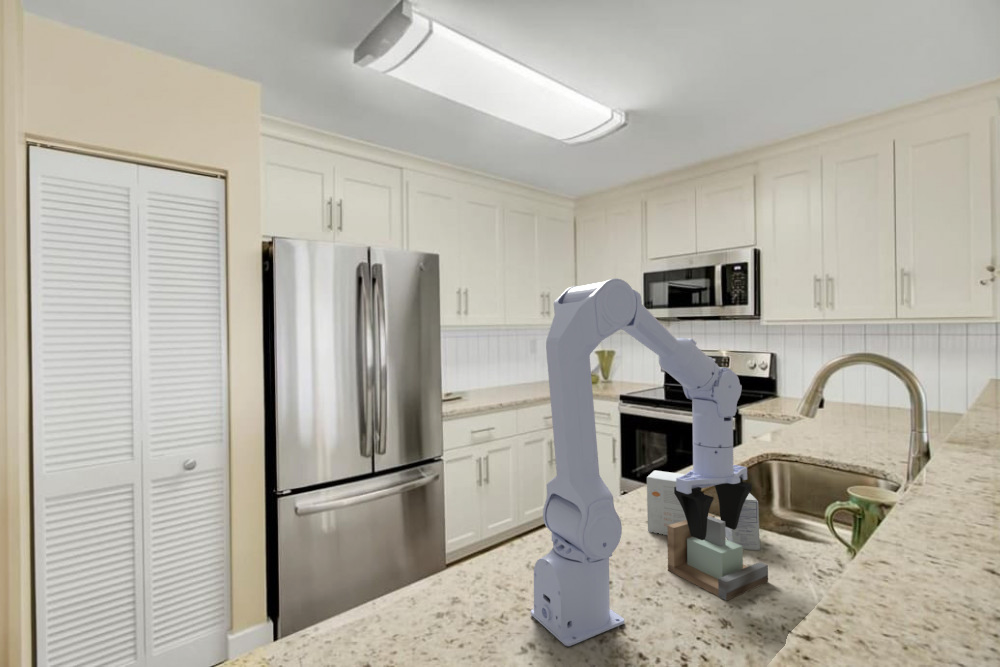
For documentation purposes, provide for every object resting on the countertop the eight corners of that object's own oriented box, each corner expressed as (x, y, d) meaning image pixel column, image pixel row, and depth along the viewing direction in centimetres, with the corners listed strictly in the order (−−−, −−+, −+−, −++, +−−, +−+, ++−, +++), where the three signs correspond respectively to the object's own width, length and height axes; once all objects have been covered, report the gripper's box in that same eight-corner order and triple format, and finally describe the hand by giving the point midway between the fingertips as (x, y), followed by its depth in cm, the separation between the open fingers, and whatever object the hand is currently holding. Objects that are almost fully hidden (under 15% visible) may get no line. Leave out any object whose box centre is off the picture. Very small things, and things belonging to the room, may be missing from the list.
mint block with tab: (722, 581, 68) (721, 529, 68) (687, 564, 73) (686, 516, 73) (742, 572, 70) (742, 522, 71) (707, 556, 76) (707, 510, 76)
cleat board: (726, 600, 65) (725, 549, 65) (667, 570, 73) (667, 525, 73) (768, 581, 70) (767, 534, 70) (708, 555, 78) (708, 513, 78)
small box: (697, 530, 89) (696, 475, 89) (691, 541, 84) (691, 482, 84) (654, 522, 93) (653, 469, 93) (646, 532, 88) (646, 476, 88)
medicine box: (760, 551, 80) (759, 500, 80) (732, 549, 81) (731, 499, 81) (745, 533, 88) (745, 486, 88) (720, 531, 88) (719, 485, 89)
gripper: (705, 455, 65) (706, 553, 65) (765, 443, 72) (766, 531, 72) (664, 445, 71) (665, 535, 71) (723, 435, 78) (725, 516, 78)
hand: (713, 532), depth 72 cm, fingers open, 7 cm apart
